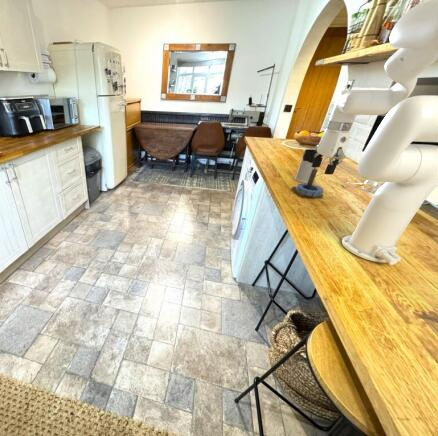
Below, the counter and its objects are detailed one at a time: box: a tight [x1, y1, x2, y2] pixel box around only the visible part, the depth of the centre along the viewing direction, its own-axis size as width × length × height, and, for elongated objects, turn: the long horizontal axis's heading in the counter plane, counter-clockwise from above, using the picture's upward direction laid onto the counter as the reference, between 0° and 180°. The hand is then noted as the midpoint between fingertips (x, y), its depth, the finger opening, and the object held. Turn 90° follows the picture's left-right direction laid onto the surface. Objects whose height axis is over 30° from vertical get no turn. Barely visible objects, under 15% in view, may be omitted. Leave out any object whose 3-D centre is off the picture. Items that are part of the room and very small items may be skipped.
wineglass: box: [343, 177, 383, 193], centre depth 112 cm, size 7×7×12 cm
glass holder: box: [293, 148, 335, 184], centre depth 119 cm, size 9×14×15 cm, turn 38°
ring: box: [295, 182, 324, 196], centre depth 107 cm, size 10×10×2 cm
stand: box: [291, 168, 324, 199], centre depth 107 cm, size 9×9×12 cm
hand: (321, 170), depth 100 cm, fingers open, 8 cm apart
